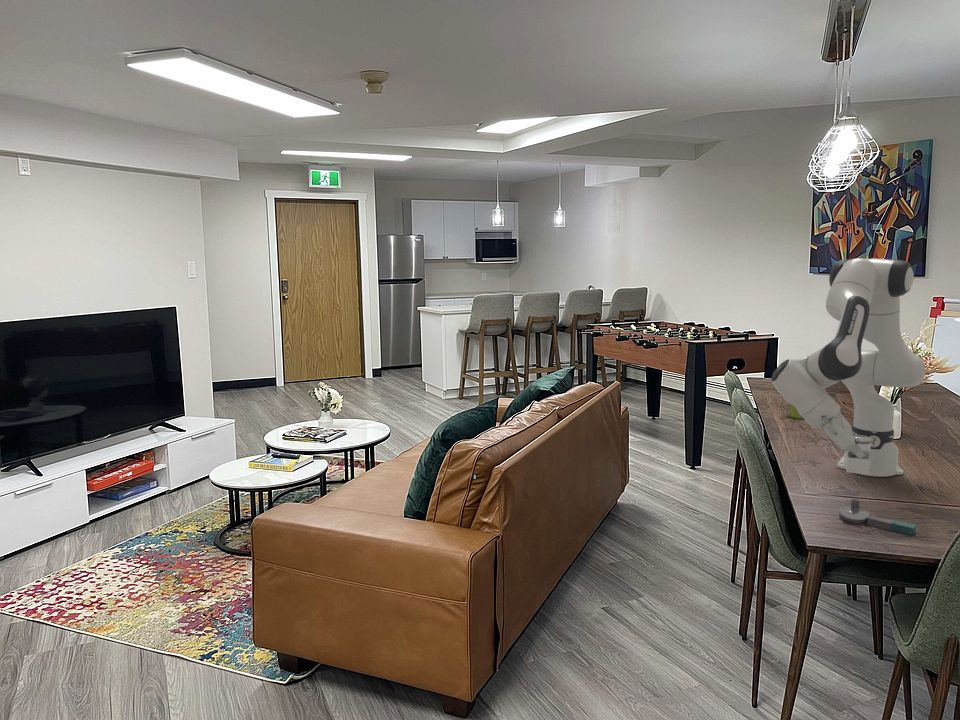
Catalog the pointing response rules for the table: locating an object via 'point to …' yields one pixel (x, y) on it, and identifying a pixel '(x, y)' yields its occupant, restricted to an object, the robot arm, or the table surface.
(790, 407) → the plant pot
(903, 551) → the table surface
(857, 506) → the ratchet
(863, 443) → the cylinder on square base
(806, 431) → the table surface
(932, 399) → the table surface
